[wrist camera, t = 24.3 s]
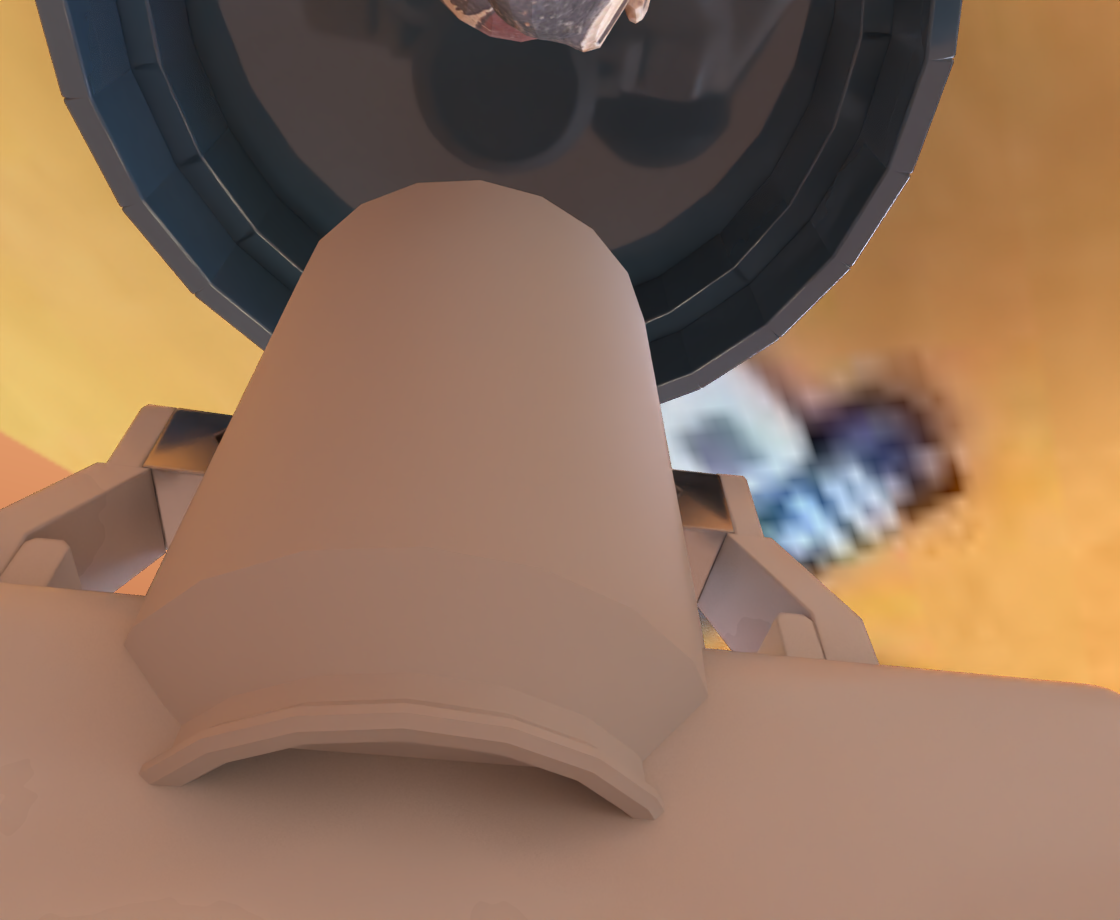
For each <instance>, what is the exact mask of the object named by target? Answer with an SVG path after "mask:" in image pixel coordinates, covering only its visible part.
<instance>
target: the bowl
mask: <svg viewBox="0 0 1120 920" xmlns="http://www.w3.org/2000/svg"><path fill="white" fill-rule="evenodd" d="M35 2H36V6H37V9H38V13H39V17H40V20H41V24H42V27H43V31H44V34H45V38H46V41H47V45H48V49H49V52H50V56H51V59H52V63H53V66H54V70H55V74H56V77H57V81H58V84H59V88H60V91H61V95H62V96H63V97H65V98H64V102H65V104H66V106H67V108H68V110H69V112H70V113H71V115H72V117H73V119H74V121H75V123H76V125H77V127H78V128H79V130H80V132H81V134H82V136H83V138H84V140H85V142H86V143H87V145H88V147H89V149H90V151H91V153H92V155H93V157H94V158H95V160H96V162H97V164H98V166H99V168H100V170H101V172H102V173H103V175H104V177H105V179H106V181H107V183H108V185H109V187H110V188H111V190H112V192H113V194H114V196H115V198H116V200H117V202H118V203H119V205H120V206H121V207H123V208H122V210H123V212H124V213H125V214H126V215H127V216H128V218H129V219H130V220H131V221H132V222H133V224H134V225H135V226H136V227H137V228H138V230H139V231H140V232H141V233H142V234H143V236H144V237H145V238H146V239H147V240H148V242H149V243H150V244H151V245H152V246H153V248H154V249H155V250H156V251H157V252H158V254H159V255H160V256H161V257H162V258H163V259H164V261H165V262H166V263H167V264H168V265H169V267H170V268H171V269H172V270H173V271H174V273H175V274H176V275H177V276H178V277H179V279H180V280H181V281H182V282H183V283H184V285H185V286H186V287H187V288H188V289H189V291H190V292H191V293H192V294H195V296H196V297H197V298H198V299H199V300H201V301H202V302H203V303H204V304H206V305H207V306H208V307H209V308H211V309H212V310H213V311H214V312H216V313H217V314H218V315H219V316H221V317H222V318H223V319H224V320H226V321H227V322H228V323H229V324H231V325H232V326H233V327H235V328H236V329H237V330H238V331H240V332H241V333H242V334H243V335H245V336H246V337H247V338H248V339H250V340H251V341H252V342H253V343H255V344H256V345H257V346H258V347H260V348H261V349H262V350H263V351H265V349H266V346H267V344H268V342H269V340H270V338H271V336H272V334H273V332H274V330H275V328H276V326H277V324H278V322H279V320H280V318H281V316H282V314H283V311H284V309H285V307H286V305H287V303H288V301H289V299H290V297H291V295H292V293H293V291H294V289H295V287H296V285H297V283H298V281H299V279H300V277H301V275H302V273H303V271H304V269H305V267H306V265H307V263H308V261H309V259H310V258H311V256H312V254H313V252H314V250H315V248H316V246H317V244H318V242H319V241H320V240H321V239H322V238H323V237H324V236H325V235H326V234H328V233H329V232H330V231H331V230H332V229H333V228H334V227H336V226H337V225H338V224H339V223H340V222H341V221H343V220H344V219H345V218H346V217H347V216H348V215H349V214H351V213H352V212H353V211H354V210H355V209H356V208H357V207H359V206H360V205H361V204H363V203H366V202H369V201H371V200H374V199H376V198H379V197H382V196H384V195H387V194H390V193H392V192H395V191H397V190H400V189H403V188H405V187H408V186H410V185H413V184H416V183H427V182H450V181H473V180H482V181H485V182H489V183H493V184H497V185H500V186H504V187H508V188H511V189H515V190H519V191H523V192H526V193H530V194H534V195H538V196H541V197H543V198H545V199H546V200H548V201H549V202H551V203H552V204H554V205H556V206H557V207H559V208H560V209H562V210H563V211H565V212H567V213H568V214H570V215H571V216H573V217H574V218H576V219H577V220H579V221H581V222H582V223H584V224H585V225H587V226H588V227H590V228H592V229H593V230H594V231H595V233H596V234H597V235H598V236H599V238H600V239H601V240H602V241H603V243H604V244H605V245H606V246H607V248H608V249H609V250H610V251H611V253H612V254H613V255H614V256H615V257H616V259H617V260H618V261H619V262H620V264H621V265H622V266H623V267H624V269H625V270H626V271H627V272H628V275H629V278H630V281H631V283H632V286H633V289H634V292H635V295H636V298H637V301H638V304H639V307H640V310H641V312H642V315H643V318H644V321H645V327H646V332H647V338H648V343H649V348H650V354H651V359H652V364H653V370H654V375H655V381H656V386H657V391H658V397H659V402H660V404H661V403H664V402H667V401H670V400H672V399H675V398H678V397H680V396H683V395H686V394H689V393H691V392H694V391H697V390H699V389H701V388H703V387H705V386H706V385H708V384H710V383H711V382H713V381H714V380H716V379H717V378H719V377H721V376H722V375H724V374H725V373H727V372H728V371H730V370H732V369H733V368H735V367H736V366H738V365H740V364H741V363H743V362H744V361H746V360H747V359H749V358H751V357H752V356H754V355H755V354H757V353H758V352H760V351H762V350H763V349H765V348H766V347H768V346H769V345H771V344H773V343H774V342H776V341H777V340H779V337H782V336H783V335H784V334H785V333H786V332H787V331H788V330H789V329H790V328H791V327H792V326H793V325H794V324H795V323H796V322H797V321H798V320H799V319H800V318H801V317H802V316H803V315H805V314H806V313H807V312H808V311H809V310H810V309H811V308H812V307H813V306H814V305H815V304H816V303H817V302H818V301H819V300H820V299H821V298H822V297H823V296H824V295H825V294H826V293H827V292H828V291H829V290H830V289H831V288H832V287H833V286H834V285H835V284H836V283H837V282H838V281H839V280H840V279H841V278H842V277H843V276H844V275H845V274H846V273H847V272H848V271H849V270H850V268H851V267H850V266H853V265H854V263H855V262H856V260H857V259H858V257H859V256H860V254H861V253H862V251H863V250H864V248H865V246H866V245H867V243H868V242H869V240H870V239H871V237H872V236H873V234H874V233H875V231H876V229H877V228H878V226H879V225H880V223H881V222H882V220H883V219H884V217H885V216H886V214H887V213H888V211H889V209H890V208H891V206H892V205H893V203H894V202H895V200H896V199H897V197H898V196H899V194H900V192H901V191H902V189H903V188H904V186H905V185H906V183H907V182H908V180H909V179H910V176H911V174H910V173H912V172H913V171H914V168H915V165H916V163H917V160H918V157H919V154H920V152H921V149H922V146H923V144H924V141H925V138H926V136H927V133H928V130H929V127H930V125H931V122H932V119H933V117H934V114H935V111H936V109H937V106H938V103H939V100H940V98H941V95H942V92H943V90H944V87H945V84H946V82H947V79H948V76H949V73H950V71H951V68H952V65H953V63H954V59H953V58H954V57H955V55H956V47H957V39H958V31H959V23H960V15H961V8H962V0H650V3H649V7H648V10H647V12H646V14H645V16H644V18H643V19H642V20H641V21H639V22H638V23H636V24H635V23H633V22H631V21H629V19H628V17H627V15H626V12H625V9H624V10H623V12H622V13H621V15H620V16H619V18H618V19H617V21H616V22H615V24H614V26H613V27H612V29H611V31H610V32H609V34H608V35H607V37H606V39H605V40H604V42H603V43H602V45H601V47H600V48H597V49H594V50H590V51H587V52H581V51H579V50H577V49H575V48H573V47H571V46H569V45H566V44H562V43H558V42H554V41H548V40H540V39H534V40H529V41H524V42H518V41H512V40H507V39H501V38H495V37H490V36H488V35H486V34H484V33H483V32H481V31H479V30H477V29H476V28H474V27H472V26H470V25H469V24H467V23H465V22H463V21H461V20H460V19H458V18H457V17H456V16H455V15H454V14H453V13H452V12H451V11H450V10H449V9H448V8H447V7H446V6H445V5H444V4H443V3H442V2H441V1H440V0H35Z"/></svg>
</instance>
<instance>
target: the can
mask: <svg viewBox="0 0 1120 920" xmlns="http://www.w3.org/2000/svg"><path fill="white" fill-rule="evenodd" d="M124 646H125V647H126V649H127V650H128V652H129V653H130V655H131V656H132V658H133V659H134V661H135V662H136V664H137V666H138V667H139V669H140V670H141V672H142V673H143V675H144V676H145V678H146V679H147V681H148V682H149V684H150V685H151V687H152V689H153V690H154V692H155V693H156V695H157V696H158V698H159V699H160V701H161V702H162V704H163V705H164V706H165V707H166V708H167V709H168V711H169V712H170V713H171V714H172V715H173V716H174V717H175V719H176V720H177V721H178V722H179V723H180V724H181V728H180V730H179V732H178V734H177V736H176V739H175V741H174V743H173V745H172V747H171V749H169V750H167V751H165V752H164V753H162V754H160V755H159V756H157V757H155V758H153V759H152V760H150V761H148V762H146V763H145V764H143V765H142V767H141V769H140V772H139V775H140V776H141V777H142V778H143V779H144V780H145V781H146V782H147V783H148V784H150V785H162V786H176V787H180V786H182V785H184V784H187V783H189V782H191V781H193V780H195V779H197V778H199V777H201V776H203V775H205V774H207V773H209V772H210V771H212V770H214V769H216V768H218V767H220V766H221V765H223V764H225V763H227V762H232V761H236V760H240V759H245V758H249V757H253V756H258V755H262V754H266V753H271V752H275V751H279V750H284V749H288V748H294V749H307V750H320V751H333V752H347V753H360V754H373V755H386V756H399V757H412V758H425V759H438V760H451V761H464V762H477V763H490V764H503V765H516V766H529V767H538V768H541V769H544V770H547V771H550V772H553V773H556V774H559V775H562V776H565V777H568V778H571V779H574V780H577V781H579V782H580V783H582V784H583V785H585V786H586V787H588V788H589V789H591V790H593V791H594V792H596V793H597V794H599V795H600V796H602V797H603V798H605V799H606V800H608V801H609V802H611V803H612V804H614V805H615V806H617V807H618V808H620V809H621V810H623V811H624V812H625V813H627V814H628V815H629V816H630V817H631V818H634V819H648V820H655V819H656V818H658V817H659V816H660V815H661V814H662V813H664V812H665V810H664V803H663V801H662V799H661V797H660V796H659V794H658V792H657V790H656V789H655V788H653V787H652V786H650V785H649V784H647V783H646V782H645V776H644V769H643V763H642V762H643V761H644V760H645V759H646V758H647V757H648V756H649V755H650V754H651V753H652V752H653V751H654V750H655V749H656V748H657V747H658V746H659V745H660V744H661V743H662V742H663V741H664V740H665V739H666V738H667V737H668V736H669V735H670V734H671V733H672V732H673V731H674V730H675V729H676V728H677V727H678V726H679V725H680V724H681V723H682V722H683V721H684V720H685V719H686V718H687V717H688V716H689V715H691V714H692V713H693V712H694V711H695V710H696V709H697V708H698V707H699V706H700V705H701V704H702V703H703V702H704V701H705V700H706V699H707V698H708V697H709V694H708V689H707V683H706V676H705V669H704V662H703V655H702V649H703V648H705V645H704V640H703V634H702V629H701V623H700V618H699V613H698V607H697V602H696V596H695V591H694V586H693V580H692V575H691V569H690V564H689V559H688V553H687V548H686V542H685V537H684V532H683V526H682V521H681V515H680V510H679V505H678V499H677V494H676V489H675V483H674V478H673V472H672V467H671V462H670V456H669V451H668V445H667V440H666V435H665V429H664V424H663V418H662V413H661V408H660V402H659V397H658V391H657V386H656V381H655V375H654V370H653V364H652V359H651V354H650V348H649V343H648V338H647V332H646V327H645V321H644V318H643V315H642V312H641V310H640V307H639V304H638V301H637V298H636V295H635V292H634V289H633V286H632V283H631V281H630V278H629V275H628V272H627V271H626V270H625V269H624V267H623V266H622V265H621V264H620V262H619V261H618V260H617V259H616V257H615V256H614V255H613V254H612V253H611V251H610V250H609V249H608V248H607V246H606V245H605V244H604V243H603V241H602V240H601V239H600V238H599V236H598V235H597V234H596V233H595V231H594V230H593V229H592V228H590V227H588V226H587V225H585V224H584V223H582V222H581V221H579V220H577V219H576V218H574V217H573V216H571V215H570V214H568V213H567V212H565V211H563V210H562V209H560V208H559V207H557V206H556V205H554V204H552V203H551V202H549V201H548V200H546V199H545V198H543V197H541V196H538V195H534V194H530V193H526V192H523V191H519V190H515V189H511V188H508V187H504V186H500V185H497V184H493V183H489V182H485V181H482V180H473V181H450V182H427V183H416V184H413V185H410V186H408V187H405V188H403V189H400V190H397V191H395V192H392V193H390V194H387V195H384V196H382V197H379V198H376V199H374V200H371V201H369V202H366V203H363V204H361V205H360V206H359V207H357V208H356V209H355V210H354V211H353V212H352V213H351V214H349V215H348V216H347V217H346V218H345V219H344V220H343V221H341V222H340V223H339V224H338V225H337V226H336V227H334V228H333V229H332V230H331V231H330V232H329V233H328V234H326V235H325V236H324V237H323V238H322V239H321V240H320V241H319V242H318V244H317V246H316V248H315V250H314V252H313V254H312V256H311V258H310V259H309V261H308V263H307V265H306V267H305V269H304V271H303V273H302V275H301V277H300V279H299V281H298V283H297V285H296V287H295V289H294V291H293V293H292V295H291V297H290V299H289V301H288V303H287V305H286V307H285V309H284V311H283V314H282V316H281V318H280V320H279V322H278V324H277V326H276V328H275V330H274V332H273V334H272V336H271V338H270V340H269V342H268V344H267V346H266V349H265V351H264V353H263V355H262V357H261V359H260V361H259V363H258V365H257V367H256V369H255V371H254V373H253V375H252V377H251V379H250V381H249V384H248V386H247V388H246V390H245V392H244V394H243V396H242V398H241V400H240V402H239V404H238V406H237V408H236V410H235V412H234V414H233V416H232V419H231V421H230V423H229V425H228V427H227V429H226V431H225V433H224V435H223V437H222V439H221V441H220V443H219V445H218V447H217V449H216V451H215V454H214V456H213V458H212V460H211V462H210V464H209V466H208V468H207V470H206V472H205V474H204V476H203V478H202V480H201V482H200V484H199V487H198V489H197V491H196V493H195V495H194V497H193V499H192V501H191V503H190V505H189V507H188V509H187V511H186V513H185V515H184V517H183V519H182V522H181V524H180V526H179V528H178V530H177V532H176V534H175V536H174V538H173V540H172V542H171V544H170V546H169V548H168V550H167V552H166V555H165V557H164V559H163V561H162V563H161V565H160V567H159V569H158V571H157V573H156V575H155V577H154V579H153V581H152V583H151V586H150V587H149V589H148V592H147V594H146V598H145V600H144V603H143V605H142V607H141V609H140V611H139V613H138V615H137V617H136V619H135V621H134V624H133V626H132V628H131V630H130V632H129V634H128V636H127V638H126V640H125V642H124Z"/></svg>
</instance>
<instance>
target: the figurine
mask: <svg viewBox="0 0 1120 920" xmlns="http://www.w3.org/2000/svg"><path fill="white" fill-rule="evenodd" d="M440 1H441V2H442V3H443V4H444V5H445V6H446V7H447V8H448V9H449V10H450V11H451V12H452V13H453V14H454V15H455V16H456V17H457V18H458V19H460V20H461V21H463V22H465V23H467V24H469V25H470V26H472V27H474V28H476V29H477V30H479V31H481V32H483V33H484V34H486V35H488V36H490V37H495V38H501V39H507V40H512V41H518V42H524V41H529V40H534V39H540V40H548V41H554V42H558V43H562V44H566V45H569V46H571V47H573V48H575V49H577V50H579V51H581V52H587V51H590V50H594V49H597V48H600V47H601V45H602V43H603V42H604V40H605V39H606V37H607V35H608V34H609V32H610V31H611V29H612V27H613V26H614V24H615V22H616V21H617V19H618V18H619V16H620V15H621V13H622V12H623V10H624V9H625V12H626V15H627V17H628V19H629V21H631V22H633V23H635V24H636V23H638V22H639V21H641V20H642V19H643V18H644V16H645V14H646V12H647V10H648V7H649V3H650V0H440Z"/></svg>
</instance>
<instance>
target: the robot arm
mask: <svg viewBox="0 0 1120 920" xmlns="http://www.w3.org/2000/svg"><path fill="white" fill-rule="evenodd" d="M231 419H232V415H225V414H218V413H211V412H204V411H197V410H190V409H183V408H178V409H177V408H173V407H166V406H158V405H151V404H148V405H146V406H144V407H143V408H141V410H140V411H139V413H138V414H137V416H136V417H135V419H134V421H133V422H132V424H131V425H130V427H129V428H128V430H127V432H126V433H125V435H124V436H123V438H122V439H121V441H120V442H119V444H118V446H117V447H116V449H115V450H114V452H113V453H112V455H111V457H110V458H109V460H108V461H107V463H98V462H97V463H95V464H93V465H91V466H89V467H87V468H85V469H83V470H81V471H79V472H77V473H75V474H73V475H70V476H68V477H67V478H64V479H62V480H60V481H58V482H56V483H54V484H52V485H50V486H48V487H46V488H44V489H42V490H40V491H38V492H36V493H33V494H31V495H29V496H27V497H25V498H23V499H21V500H19V501H17V502H15V503H13V504H11V505H9V506H7V507H5V508H3V509H1V510H0V920H1120V694H1118V693H1117V692H1115V691H1113V690H1110V689H1107V688H1104V687H1100V686H1096V685H1090V684H1082V683H1072V682H1061V681H1050V680H1039V679H1028V678H1017V677H1006V676H996V675H985V674H974V673H963V672H952V671H941V670H931V669H920V668H909V667H899V666H888V665H879V663H878V660H877V657H876V655H875V652H874V650H873V647H872V644H871V642H870V639H869V636H868V634H867V631H866V629H865V626H864V623H863V621H862V619H861V618H860V617H859V616H858V615H857V614H856V613H854V612H853V611H852V610H851V609H850V608H849V607H848V606H847V605H846V604H844V603H843V602H842V601H841V600H840V599H839V598H838V597H837V596H835V595H834V594H833V593H832V592H831V591H830V590H829V589H828V588H827V587H825V586H824V585H823V584H822V583H821V582H820V581H819V580H818V579H817V578H815V577H814V576H813V575H812V574H811V573H810V572H809V571H808V570H806V569H805V568H804V567H803V566H802V565H801V564H800V563H799V562H798V561H796V560H795V559H794V558H793V557H792V556H791V555H790V554H789V553H787V552H786V551H785V550H784V549H783V548H782V547H781V546H780V545H779V544H777V543H776V542H775V541H774V540H773V539H772V538H767V537H764V535H763V532H762V529H761V526H760V522H759V519H758V516H757V512H756V509H755V506H754V503H753V499H752V496H751V493H750V490H749V486H748V483H747V480H746V479H745V478H744V477H743V476H738V475H727V474H711V473H702V472H693V471H685V470H676V469H672V472H673V478H674V483H675V489H676V494H677V499H678V505H679V510H680V515H681V521H682V526H683V532H684V537H685V542H686V548H687V553H688V559H689V564H690V569H691V575H692V580H693V586H694V591H695V596H696V602H697V603H698V604H697V606H698V608H699V609H700V610H701V611H702V613H703V614H704V615H705V617H706V618H707V619H708V621H709V622H710V623H711V624H712V626H713V627H714V628H715V630H716V631H717V632H718V634H719V635H720V636H721V638H722V639H723V640H724V641H725V643H726V644H727V645H728V647H729V648H730V649H731V651H728V650H718V649H707V648H703V649H702V655H703V662H704V669H705V676H706V683H707V689H708V694H709V697H708V698H707V699H706V700H705V701H704V702H703V703H702V704H701V705H700V706H699V707H698V708H697V709H696V710H695V711H694V712H693V713H692V714H691V715H689V716H688V717H687V718H686V719H685V720H684V721H683V722H682V723H681V724H680V725H679V726H678V727H677V728H676V729H675V730H674V731H673V732H672V733H671V734H670V735H669V736H668V737H667V738H666V739H665V740H664V741H663V742H662V743H661V744H660V745H659V746H658V747H657V748H656V749H655V750H654V751H653V752H652V753H651V754H650V755H649V756H648V757H647V758H646V759H645V760H644V761H643V762H642V763H643V769H644V776H645V782H646V783H647V784H649V785H650V786H652V787H653V788H655V789H656V790H657V792H658V794H659V796H660V797H661V799H662V801H663V803H664V810H665V812H664V813H662V814H661V815H660V816H659V817H658V818H656V819H655V820H648V819H634V818H631V817H630V816H629V815H628V814H627V813H625V812H624V811H623V810H621V809H620V808H618V807H617V806H615V805H614V804H612V803H611V802H609V801H608V800H606V799H605V798H603V797H602V796H600V795H599V794H597V793H596V792H594V791H593V790H591V789H589V788H588V787H586V786H585V785H583V784H582V783H580V782H579V781H577V780H574V779H571V778H568V777H565V776H562V775H559V774H556V773H553V772H550V771H547V770H544V769H541V768H538V767H529V766H516V765H503V764H490V763H477V762H464V761H451V760H438V759H425V758H412V757H399V756H386V755H373V754H360V753H347V752H333V751H320V750H307V749H294V748H288V749H284V750H279V751H275V752H271V753H266V754H262V755H258V756H253V757H249V758H245V759H240V760H236V761H232V762H227V763H225V764H223V765H221V766H220V767H218V768H216V769H214V770H212V771H210V772H209V773H207V774H205V775H203V776H201V777H199V778H197V779H195V780H193V781H191V782H189V783H187V784H184V785H182V786H180V787H176V786H162V785H150V784H148V783H147V782H146V781H145V780H144V779H143V778H142V777H141V776H140V775H139V772H140V769H141V767H142V765H143V764H145V763H146V762H148V761H150V760H152V759H153V758H155V757H157V756H159V755H160V754H162V753H164V752H165V751H167V750H169V749H171V747H172V745H173V743H174V741H175V739H176V736H177V734H178V732H179V730H180V728H181V724H180V723H179V722H178V721H177V720H176V719H175V717H174V716H173V715H172V714H171V713H170V712H169V711H168V709H167V708H166V707H165V706H164V705H163V704H162V702H161V701H160V699H159V698H158V696H157V695H156V693H155V692H154V690H153V689H152V687H151V685H150V684H149V682H148V681H147V679H146V678H145V676H144V675H143V673H142V672H141V670H140V669H139V667H138V666H137V664H136V662H135V661H134V659H133V658H132V656H131V655H130V653H129V652H128V650H127V649H126V647H125V646H124V642H125V640H126V638H127V636H128V634H129V632H130V630H131V628H132V626H133V624H134V621H135V619H136V617H137V615H138V613H139V611H140V609H141V607H142V605H143V603H144V600H145V598H146V596H141V595H140V596H139V595H130V594H119V593H114V592H115V591H116V590H118V589H119V588H120V587H121V586H123V585H124V584H126V583H127V582H128V581H129V580H131V579H132V578H133V577H134V576H136V575H137V574H139V573H140V572H141V571H143V570H144V569H145V568H147V567H148V566H149V565H150V564H152V563H153V562H154V561H155V560H157V559H158V558H160V557H161V556H162V555H164V554H165V553H166V550H168V548H169V546H170V544H171V542H172V540H173V538H174V536H175V534H176V532H177V530H178V528H179V526H180V524H181V522H182V519H183V517H184V515H185V513H186V511H187V509H188V507H189V505H190V503H191V501H192V499H193V497H194V495H195V493H196V491H197V489H198V487H199V484H200V482H201V480H202V478H203V476H204V474H205V472H206V470H207V468H208V466H209V464H210V462H211V460H212V458H213V456H214V454H215V451H216V449H217V447H218V445H219V443H220V441H221V439H222V437H223V435H224V433H225V431H226V429H227V427H228V425H229V423H230V421H231Z"/></svg>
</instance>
